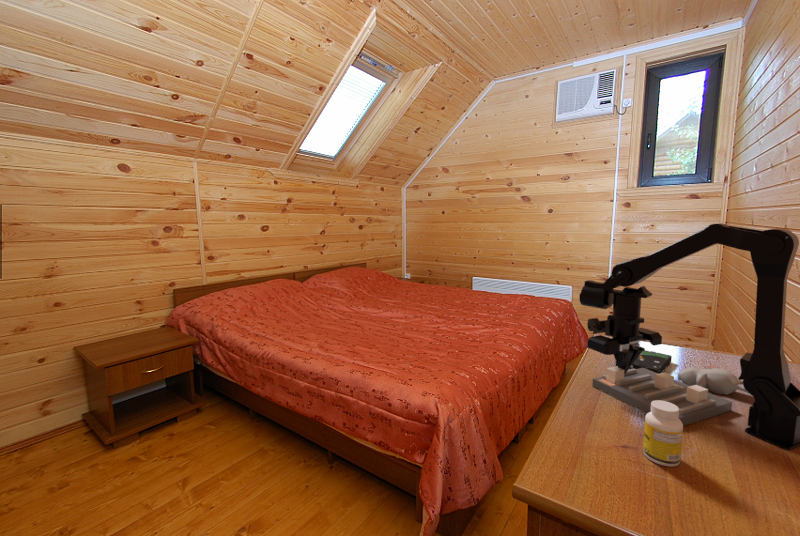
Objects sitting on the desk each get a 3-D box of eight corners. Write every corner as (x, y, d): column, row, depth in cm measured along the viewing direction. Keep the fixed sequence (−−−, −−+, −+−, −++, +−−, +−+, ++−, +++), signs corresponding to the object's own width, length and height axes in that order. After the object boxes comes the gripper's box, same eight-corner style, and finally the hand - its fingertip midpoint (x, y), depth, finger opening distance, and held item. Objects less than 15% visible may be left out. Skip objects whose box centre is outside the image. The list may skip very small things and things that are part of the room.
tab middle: (672, 388, 85) (674, 376, 85) (664, 390, 84) (665, 378, 84) (662, 384, 88) (663, 372, 87) (654, 386, 87) (654, 374, 86)
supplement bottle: (644, 444, 68) (648, 395, 67) (680, 456, 65) (685, 404, 63) (640, 459, 64) (644, 406, 63) (679, 472, 61) (684, 417, 59)
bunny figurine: (683, 360, 97) (762, 370, 86) (684, 379, 98) (763, 392, 86) (674, 370, 91) (758, 383, 80) (676, 390, 91) (759, 406, 80)
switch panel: (731, 410, 79) (732, 398, 79) (676, 428, 73) (677, 415, 73) (642, 374, 98) (643, 364, 98) (592, 386, 92) (593, 375, 91)
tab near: (706, 402, 79) (708, 389, 79) (697, 405, 78) (699, 391, 78) (694, 397, 81) (695, 384, 81) (685, 399, 80) (687, 387, 80)
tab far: (623, 381, 89) (624, 369, 89) (614, 383, 88) (615, 371, 88) (614, 377, 92) (615, 366, 91) (606, 379, 91) (606, 368, 90)
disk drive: (658, 380, 96) (671, 364, 106) (659, 370, 96) (672, 354, 106) (614, 368, 104) (630, 354, 114) (615, 359, 103) (631, 346, 113)
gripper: (623, 301, 99) (620, 356, 101) (570, 309, 93) (568, 367, 95) (665, 311, 89) (660, 372, 91) (609, 320, 83) (605, 385, 85)
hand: (622, 373), depth 91 cm, fingers closed
